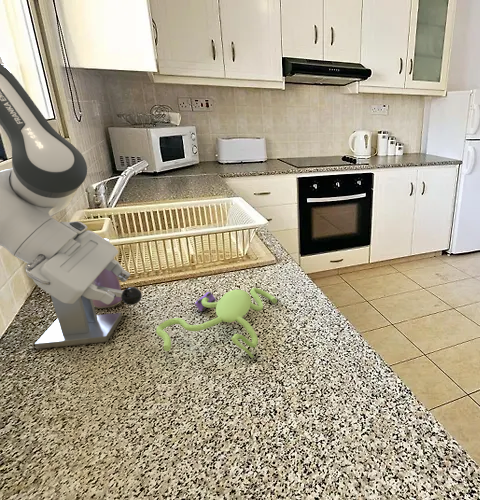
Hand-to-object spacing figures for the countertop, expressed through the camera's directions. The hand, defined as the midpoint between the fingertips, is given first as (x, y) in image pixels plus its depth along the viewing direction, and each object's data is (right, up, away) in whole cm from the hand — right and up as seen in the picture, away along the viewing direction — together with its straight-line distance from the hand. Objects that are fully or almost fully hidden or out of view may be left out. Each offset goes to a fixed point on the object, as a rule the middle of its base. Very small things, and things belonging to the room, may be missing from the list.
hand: (120, 288), depth 75 cm
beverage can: (-10, -5, +12) cm, 17 cm away
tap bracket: (-8, -9, +1) cm, 12 cm away
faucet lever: (-4, -2, -1) cm, 4 cm away
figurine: (+20, -9, +4) cm, 22 cm away
